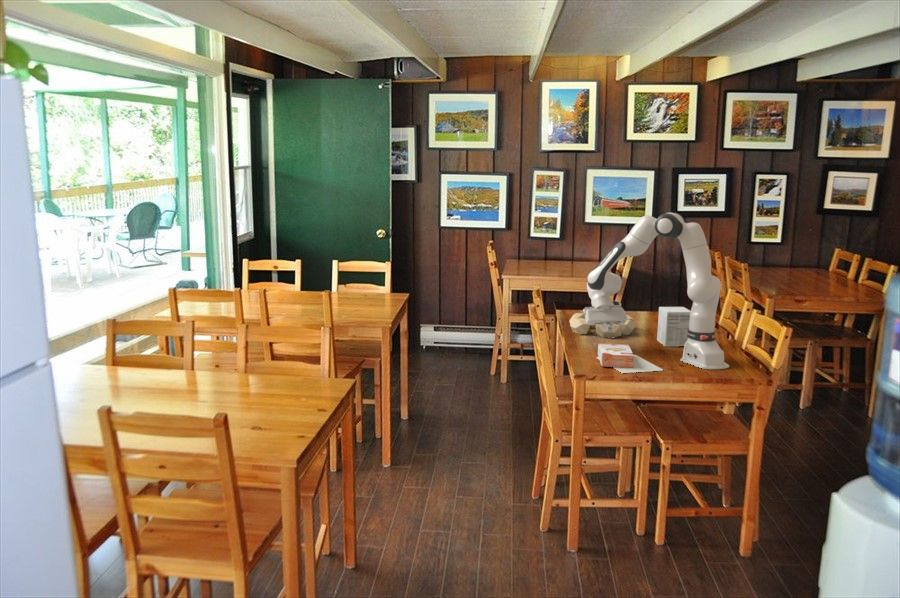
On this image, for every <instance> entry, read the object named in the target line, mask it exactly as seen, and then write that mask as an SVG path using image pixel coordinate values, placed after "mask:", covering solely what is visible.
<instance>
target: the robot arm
mask: <svg viewBox="0 0 900 598" xmlns="http://www.w3.org/2000/svg"><path fill="white" fill-rule="evenodd" d="M658 235H659V236H660V237H663V238H673V239H674V238H675V239H676V238H677V239H678V240H679V243H680V247H681V251H682V254H683V259H684V263H685V268H686V270H685V271H686V281H687V288H686V289H687V290H686V292H687V296H688V298H689V299H690V300H691V302H692V306H691V309H690V320H689V329H688V332H687V337H688V339H687V341H686V343H685V346H684V347H683V350H682V351H683V352H682V353H683V354H682V357H681V358H680V360H679V361H680V362H682V361H683V362H682V363H685V364H687V363H688V365H690V364H691V365H690V366H693V365H694V366H693V367H696V368H698V367H699V368H698V369H701V368H702V370H724V369H728V368H730V365H729V364H728V363H726V362H725V351H724V350H723V349H721V347H720V346H719V343H718V342H717V341H716V340H717V339H718V335H717V334H716V330H715V326H716V324H715V323H716V316H717V315H716V313H717V309H718V304H719V301H720V295H721V294H720V293H721V289H722V282H721V280H720V279H719V278H718V277H717V276H715V275H712V257H711V253H710V249H709V247H708V242H707V239H706V236H705V232H704V230H703V229H702V226H701V225H700V224H699V223H698V222H692V221H691V222H686V220H685V218H684V216H683V215H681V214H680V213H677V212H666V213H662V214H660V215H659V216H658V217H657V218H656V217H654V216H652V215H643V216H641V218H639V220H638V221H636V223H635V224H634V225H633V226H632V228H631V229H630V231H629V233H628V234H627V235H626V236H625V237H624V238H623V239H622V240H620V241H618V242H617V243H616V244H614V246H613V245H612V247H611V248H610V250H609V251H608V252H607V253H606V254H605V256H604V257H603V258H602V259H601V260H600V262H599V263H598V264H597V265H596V266H595V267H594V268H593V269H591V270H590V271H589V272H588V274H587V277H586V290H587V293H588V297H589V299H590V300H591V302H590V303H591V306H585V307H584V308H583V309H582V311H583V314H585V320H586V324H588V325H602V326H603V327H604V328H605V329H606V332H613V324H624V323H625V322H626V320H627V316H626V315H627V314H626V312H625V309H624V308H623V307H622V303H621V302H620V301H617V300H613V299H611V298H610V297H611V296H614V295H615V294H617V293H618V292H620V291H621V289H622V288H623V279H622V277H621V276H620V275H618V274H616V273H613V272H610V271H611V270H612V268H613V267H614V266H615V265H616V264H617V262H619V260H622V259H624V258H628V257H638V256H641V255H642V254H644V253H645V252H646V251H647V250H648V249H649V247H650V245H651V244H652V242H653V241H654V239H655V238H656V237H657V236H658ZM606 324H609V326H611V327H608V326H607V325H606Z"/></svg>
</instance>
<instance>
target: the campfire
mask: <svg viewBox="0 0 900 598" xmlns="http://www.w3.org/2000/svg"><path fill="white" fill-rule="evenodd" d="M626 316H627V320H626V322H625V323H624V324H613V332H606V329H605V328H604V327H603V326H602V325H588V324H586V320H585V314H584V313H581V312H576V313H574V314H572V316H571V318H570V319H569V321H568V322H569V327H570V328H571V330H572V333H574V332H575V333H574V334H576V333H578V334H577V335H579V334H583V335H587V334H588V332H589V330H590V329H591V330H592V329H594V328H595V333H596V334H597V335H598V336H600V338H602V337H609V338H608V339H613V338H612V337H616V338H618V337H619V336H621V335H620V334H623V335H622V336H626V335H628V336H630V335H631V334H632V332H633V331H634V329H635V328H636V326H635V323H634V322H633V321H634V318H633V317H632V316H630V315H628V314H626ZM606 325H607V326H608V327H611V326H609V324H606ZM630 333H631V334H630Z"/></svg>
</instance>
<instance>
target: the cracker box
mask: <svg viewBox="0 0 900 598" xmlns="http://www.w3.org/2000/svg"><path fill="white" fill-rule="evenodd" d="M634 355H635V354H634V353H633V351H632V349H631V347H630V345H629V343H605V342H604V343H602V342H601V343H600V342H599V343H597V357H599V359H598V361H599V363H600V365H601V367H610V368H612V367H633V366H634Z"/></svg>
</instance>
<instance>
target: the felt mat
mask: <svg viewBox="0 0 900 598" xmlns="http://www.w3.org/2000/svg"><path fill="white" fill-rule="evenodd" d="M633 355H634V366H633V367H613V368H614V370H615V369H616V370H615V371H617V370H618V371H619V372H618V371H617V372H618V373H620V372H621V373H620V374H622V375H623V373H627V374H639V373H638V372H642V373H654V372H653V371H658V372H664V371H663V370H664V369H663V368H661V367H659V366H657V365H656V364H653V363H652V362H650V361H648V360H646V359H644V358H643V357H640V356H638V355H636V354H633ZM595 359H598V360H599V357H598V356H596V358H595ZM613 368H612V369H613ZM636 372H637V373H636Z"/></svg>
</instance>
